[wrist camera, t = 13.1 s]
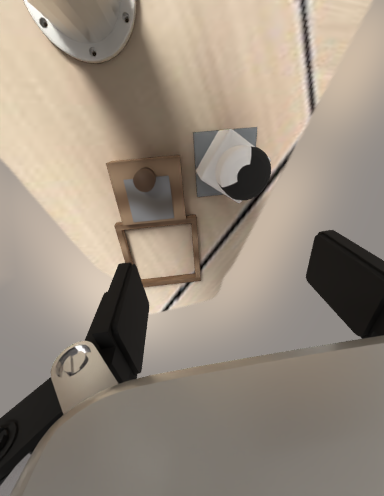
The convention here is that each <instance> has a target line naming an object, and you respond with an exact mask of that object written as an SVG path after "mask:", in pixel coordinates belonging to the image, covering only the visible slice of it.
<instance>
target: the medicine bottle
mask: <svg viewBox="0 0 384 496" xmlns="http://www.w3.org/2000/svg"><path fill="white" fill-rule="evenodd" d="M270 161H271V160H270V158H269V157H268V156H267V155H266V154H265V153H264V152H263V151H262V150H261V149H259V148H257V147H255V146H253V145H252V144H251V143H249V142H248V141H247V140H246V139H244V138H243V137H242V136H240V135H239V134H238V133H237V132H235V131H234V130H233V129H225V130H219V131H218V132H217V134H216V136H215V138H214V139H213V141H212V143H211V145H210V146H209V148H208V150H207V152H206V153H205V155H204V157H203V159H202V160H201V162H200V164H199V166H198V168H197V169H196V172H197V174H198V176H199V177H200V179H201V180H202V181H203V182H205V183H207V184H208V185H210V186H211V187H213V188H215V189H216V190H218V191H219V192H221V193H223V194H224V195H226V196H227V197H229V198H231V199H232V200H234V201H235V202H237V203H241V202H242V200H248V199H251V198H253V197H255V196H257V195H258V194H259V193H261V192H262V191H263V189H264V188H265V187H266V185H267V183H268V181H269V178H270V174H271V164H270Z"/></svg>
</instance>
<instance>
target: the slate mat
mask: <svg viewBox="0 0 384 496" xmlns="http://www.w3.org/2000/svg"><path fill="white" fill-rule="evenodd" d="M233 130H234V131H235V132H237V133H238V134H239V135H240V136H242V137H243V138H244V139H246V140H247V141H248V142H249V143H251V144H252V145H253V146H255V147H256V137H257V127H252V128H240V129H233ZM218 131H219V130H217V131H205V132H194V133H193V137H194V153H195V170H196V169H197V168H198V166H199V164H200V162H201V160H202V159H203V157H204V155H205V153H206V152H207V150H208V148H209V146H210V145H211V143H212V141H213V139H214V138H215V136H216V134H217V132H218ZM196 186H197V197H202V196H212V195H222V194H223V193H221V192H219V191H218V190H216V189H215V188H213V187H211V186H210V185H208V184H207V183H205V182H203V181H202V180H201V179H200V177H199V176H198V174H197V172H196Z"/></svg>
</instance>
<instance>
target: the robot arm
mask: <svg viewBox="0 0 384 496" xmlns="http://www.w3.org/2000/svg"><path fill="white" fill-rule="evenodd" d="M23 1H24V3H25V5H26V7H27V9H28V11H29V13H30V15H31V16H32V18H33V20H34V21H35V23H36V24H37V25H38V27H39V28H40V30H41V31H42V32H43V33H44V34H45V35H46V37H47V38H48V39H49V40H50V41H51V42H52V43H53V44H55V45H56V46H57V47H58V48H59V49H61V50H62V51H63V52H65V53H66V54H68V55H69V56H71V57H73V58H75V59H78V60H80V61H84V62H88V63H101V62H105V61H108V60H110V59H112V58H113V57H115V56H117V55H118V53H119V52H120V51H121V50H122V49H123V48H124V47H125V45H126V43H127V42H128V40H129V38H130V35H131V33H132V30H133V26H134V21H135V16H136V0H23ZM126 19H129V22H128V23H126V22H125V20H126ZM46 24H48V26H47V28H46ZM94 52H96V56H95V57H94V56H93V53H94ZM306 279H307V281H308V283H309V284H310V285H311V286H312V287H313V288H314V289H315V290H316V291H317V292H318V294H319V295H320V296H321V297H322V298H323V299H324V300H325V301H326V302H327V304H329V306H330V307H331V308H332V309H333V310H334V311H335V312H336V313H337V315H338V316H339V317H340V318H341V319H342V320H343V321H344V322H345V323H346V324H347V326H348V327H349V328H350V329H351V330H352V331H353V332H354V333H355V334H356V335H358V336H360V337H361V338H362V339H358V340H352V341H346V342H340V343H333V344H328V345H322V346H316V347H309V348H304V349H297V350H291V351H286V352H279V353H274V354H267V355H261V356H256V357H250V358H244V359H238V360H232V361H227V362H221V363H215V364H209V365H204V366H198V367H192V368H187V369H182V370H176V371H171V372H166V373H160V374H155V375H150V376H146V377H142V378H138V379H137V374H138V373H140V372H141V369H142V362H143V353H144V345H145V337H146V329H147V321H148V313H149V302H148V299H147V296H146V293H145V290H144V287H143V284H142V281H141V278H140V276H139V273H138V270H137V267H136V265H135V264H133V265H132V263H131V262H128V263H122V264H119V265H118V267H117V270H116V272H115V275H114V277H113V280H112V282H111V285H110V288H109V290H108V292H106V293H104V295H103V297H102V300H101V302H100V305H99V307H98V309H97V312H96V314H95V317H94V319H93V322H92V324H91V327H90V329H89V331H88V334H87V336H86V339H85V341H80V342H77V343H74V344H72V345H71V346H69V347H67V348H66V349H65V350H64V351H62V352H61V353H60V355H59V356H58V357H57V358H56V360H55V361H54V363H53V365H52V368H51V371H50V373H51V377H50V378H49V379H48V380H47V381H46V382H44V383H43V384H42V385H41V386H39V387H38V388H37V389H36V390H34V392H32V393H31V394H30V395H28V396H27V397H26V398H25V399H23V400H22V401H21V402H20V403H18V404H17V405H16V406H15V407H14V408H12V409H11V410H10V411H9V412H8V413H6V414H5V415H4V416H3V417H1V418H0V496H384V261H383V260H382V259H380V258H378V257H377V256H375V255H373V254H372V253H370V252H368V251H367V250H365V249H363V248H362V247H360V246H359V245H357V244H355V243H354V242H352V241H350V240H349V239H347V238H345V237H344V236H342V235H340V234H339V233H337V232H335V231H334V230H328V231H322V232H319V233H318V235H316V236H315V239H314V243H313V248H312V252H311V256H310V260H309V265H308V269H307V274H306Z"/></svg>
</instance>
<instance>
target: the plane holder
mask: <svg viewBox="0 0 384 496" xmlns="http://www.w3.org/2000/svg"><path fill="white" fill-rule="evenodd" d="M106 165H107V169H108V173H109V176H110V180H111V184H112V187H113V191H114V194H115V198H116V202H117V205H118V209H119V213H120V216H121V220H122V222H118V223H116V224H115V229H116V233H117V236H118V239H119V243H120V246H121V249H122V253H123V256H124V259H125V263H128V262H131V263H132V265H133V261H132V257H131V254H130V250H129V246H128V243H127V239H126V235H125V232H124V230H129V229H139V228H148V227H158V226H168V225H178V224H187V223H191V228H192V240H193V252H194V264H195V274H187V275H178V276H169V277H160V278H151V279H142V280H141V281H142V284H143V287H149V286H158V285H167V284H176V283H185V282H194V281H201V278H200V263H199V248H198V233H197V218H196V215H187V216H186V215H185V205H184V194H183V184H182V174H181V163H180V156H179V155H175V156H164V157H153V158H142V159H131V160H119V161H111V162H108V163H106Z"/></svg>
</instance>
